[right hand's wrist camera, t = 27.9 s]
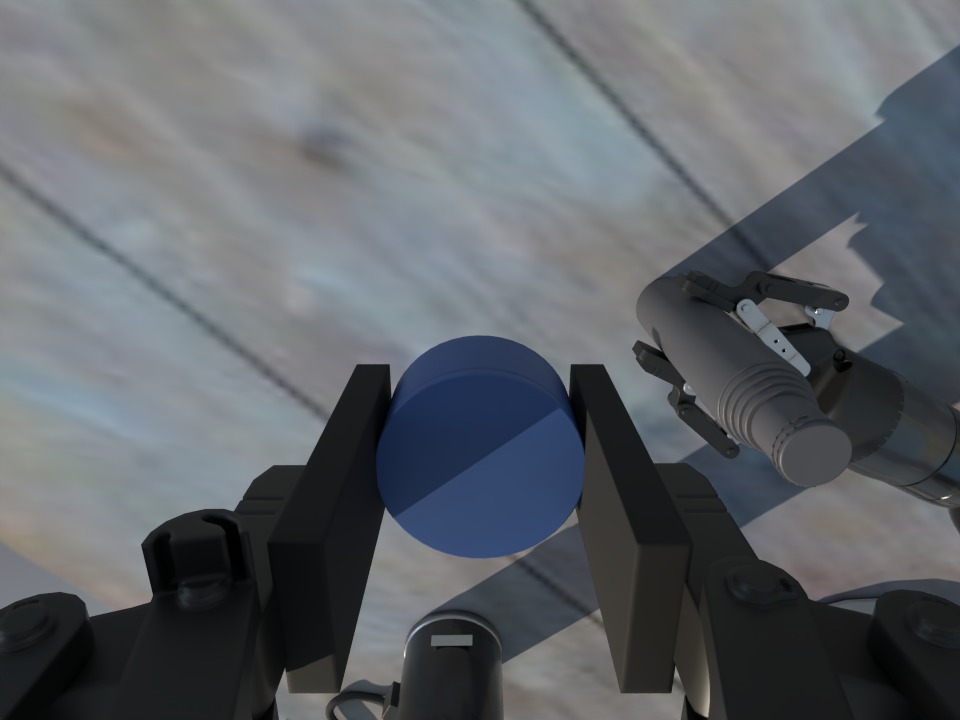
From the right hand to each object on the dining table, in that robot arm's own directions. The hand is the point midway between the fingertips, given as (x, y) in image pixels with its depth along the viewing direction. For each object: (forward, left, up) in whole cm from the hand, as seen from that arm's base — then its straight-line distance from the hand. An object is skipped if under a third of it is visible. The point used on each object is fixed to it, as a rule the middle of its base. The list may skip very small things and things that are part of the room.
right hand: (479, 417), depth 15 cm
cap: (0, 0, +2) cm, 2 cm away
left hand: (+2, +13, -27) cm, 30 cm away
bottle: (+3, +16, -33) cm, 37 cm away
